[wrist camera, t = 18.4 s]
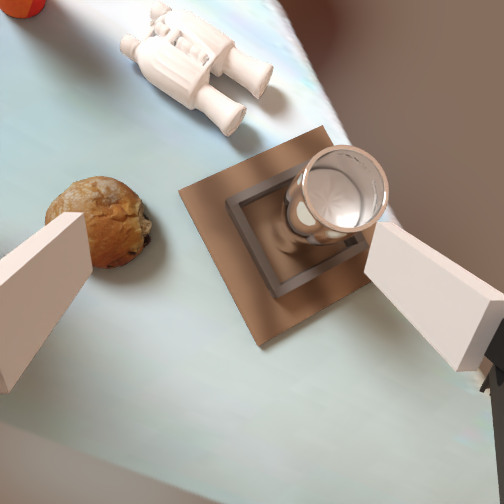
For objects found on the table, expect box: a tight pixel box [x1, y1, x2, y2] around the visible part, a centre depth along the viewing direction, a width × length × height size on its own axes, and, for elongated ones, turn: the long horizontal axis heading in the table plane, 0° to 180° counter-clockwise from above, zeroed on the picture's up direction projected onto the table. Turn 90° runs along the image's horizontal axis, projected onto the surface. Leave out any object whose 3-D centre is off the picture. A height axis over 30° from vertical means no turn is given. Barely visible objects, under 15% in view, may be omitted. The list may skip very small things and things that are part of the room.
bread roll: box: [45, 176, 152, 269], centre depth 33 cm, size 10×10×8 cm
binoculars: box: [120, 0, 273, 137], centre depth 37 cm, size 10×16×5 cm, turn 57°
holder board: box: [178, 125, 376, 346], centre depth 36 cm, size 20×20×4 cm
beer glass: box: [269, 145, 389, 254], centre depth 30 cm, size 7×7×15 cm
